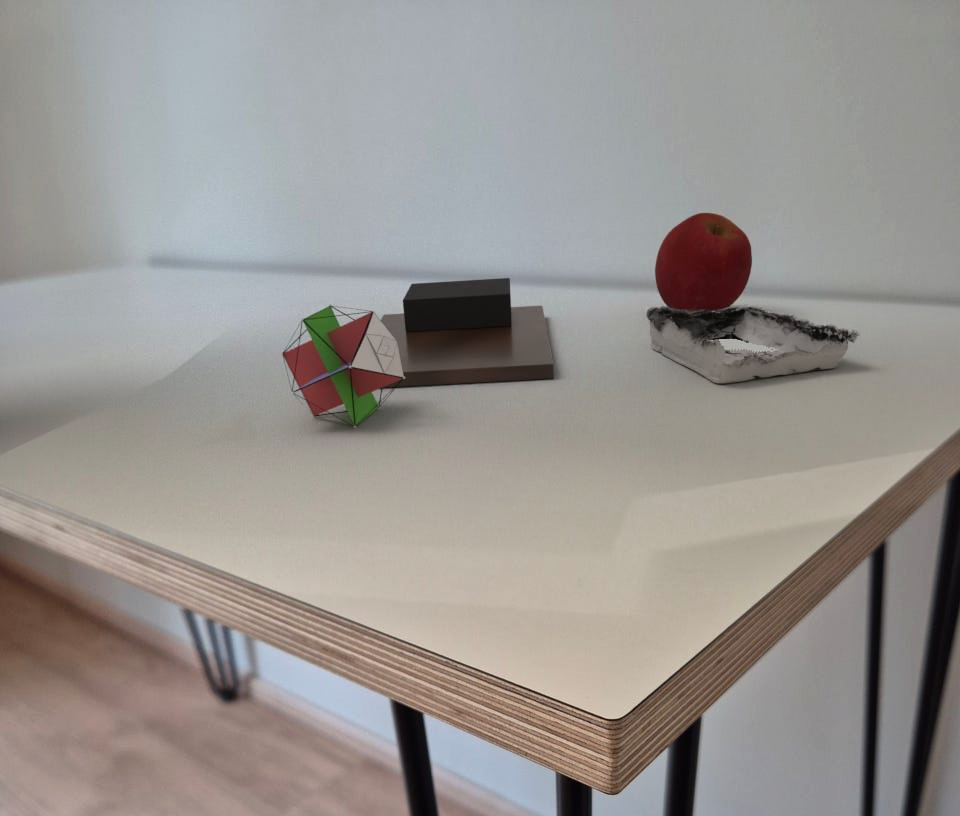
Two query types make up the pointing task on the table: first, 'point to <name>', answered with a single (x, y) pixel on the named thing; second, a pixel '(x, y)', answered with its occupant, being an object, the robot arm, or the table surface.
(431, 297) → the black block
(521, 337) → the assembly board
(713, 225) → the apple
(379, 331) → the geometric puzzle
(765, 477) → the table surface
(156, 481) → the table surface
